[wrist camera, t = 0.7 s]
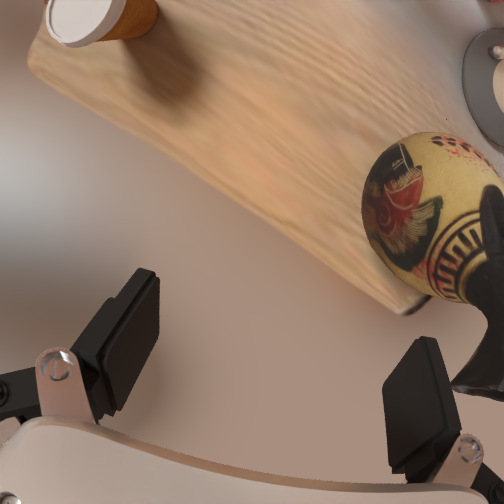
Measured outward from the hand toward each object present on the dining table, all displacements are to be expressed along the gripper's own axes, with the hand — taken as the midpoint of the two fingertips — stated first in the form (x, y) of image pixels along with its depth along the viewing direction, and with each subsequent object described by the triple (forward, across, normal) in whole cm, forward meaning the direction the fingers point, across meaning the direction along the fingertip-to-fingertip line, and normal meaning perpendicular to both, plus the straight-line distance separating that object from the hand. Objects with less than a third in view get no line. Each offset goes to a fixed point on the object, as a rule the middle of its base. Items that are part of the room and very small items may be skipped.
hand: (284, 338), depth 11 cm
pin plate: (+30, -24, -17) cm, 42 cm away
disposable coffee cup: (+30, +23, -14) cm, 40 cm away
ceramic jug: (+30, -14, 0) cm, 33 cm away
